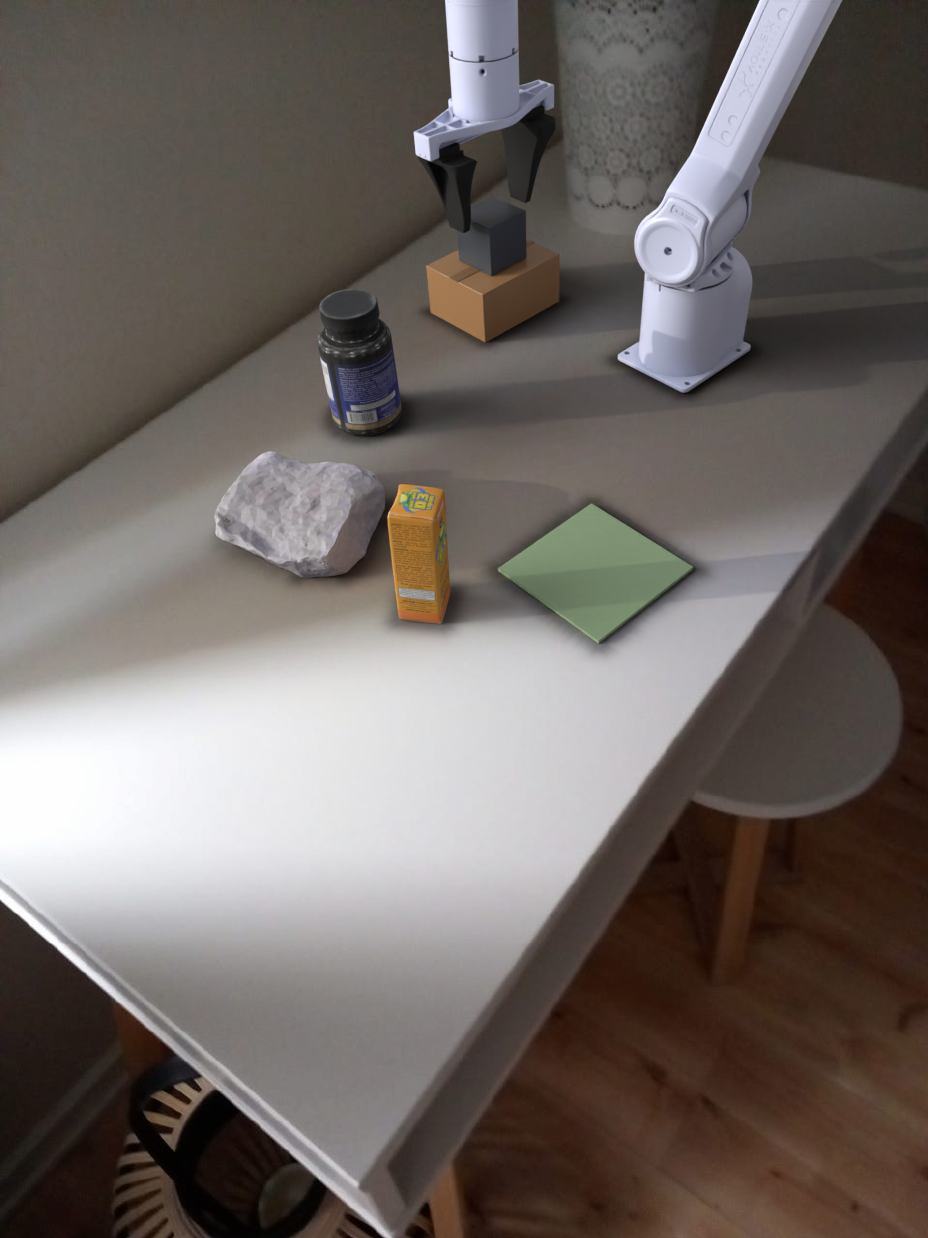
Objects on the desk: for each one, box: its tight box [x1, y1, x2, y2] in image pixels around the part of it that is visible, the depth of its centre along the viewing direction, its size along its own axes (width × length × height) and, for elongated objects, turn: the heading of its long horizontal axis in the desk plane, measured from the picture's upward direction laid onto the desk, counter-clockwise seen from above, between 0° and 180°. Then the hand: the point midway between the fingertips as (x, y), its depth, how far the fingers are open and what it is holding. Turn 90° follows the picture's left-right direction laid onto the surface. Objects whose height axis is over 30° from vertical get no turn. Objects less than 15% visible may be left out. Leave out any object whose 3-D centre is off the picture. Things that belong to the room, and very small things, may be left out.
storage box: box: [425, 237, 561, 343], centre depth 94 cm, size 10×8×5 cm
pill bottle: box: [316, 288, 402, 437], centre depth 81 cm, size 6×6×11 cm
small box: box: [456, 195, 527, 276], centre depth 91 cm, size 5×5×5 cm
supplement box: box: [387, 483, 451, 624], centre depth 66 cm, size 3×3×10 cm
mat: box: [497, 502, 694, 644], centre depth 71 cm, size 10×10×1 cm
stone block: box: [213, 450, 386, 579], centre depth 75 cm, size 12×5×10 cm
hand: (490, 213), depth 89 cm, fingers open, 7 cm apart
